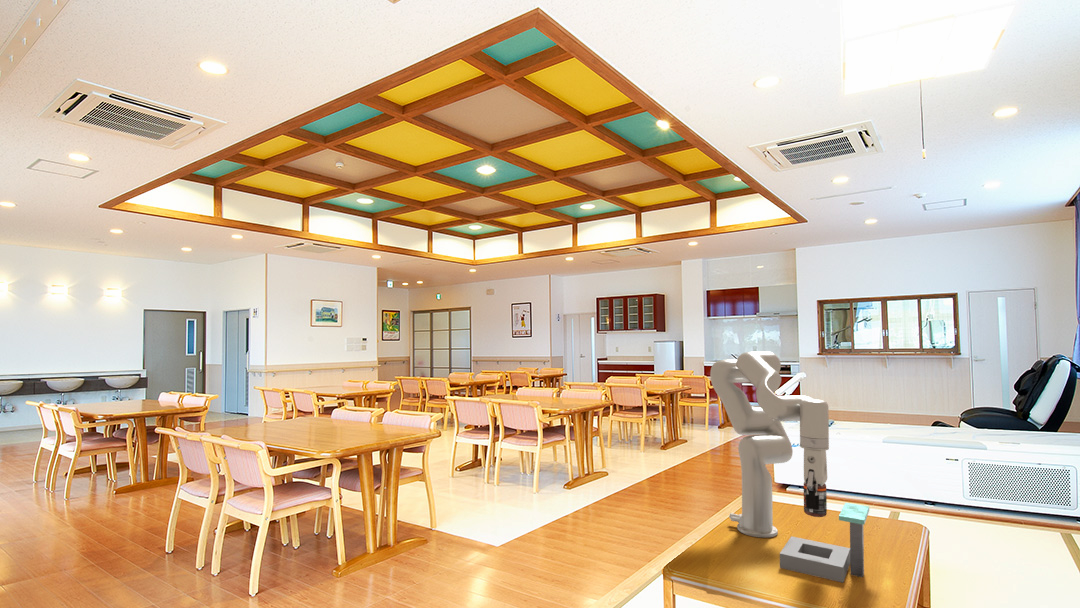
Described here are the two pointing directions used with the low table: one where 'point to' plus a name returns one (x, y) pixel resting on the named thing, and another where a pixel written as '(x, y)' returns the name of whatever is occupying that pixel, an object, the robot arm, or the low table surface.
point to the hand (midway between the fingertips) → (814, 505)
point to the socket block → (815, 558)
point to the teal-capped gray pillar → (855, 535)
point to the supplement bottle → (822, 502)
